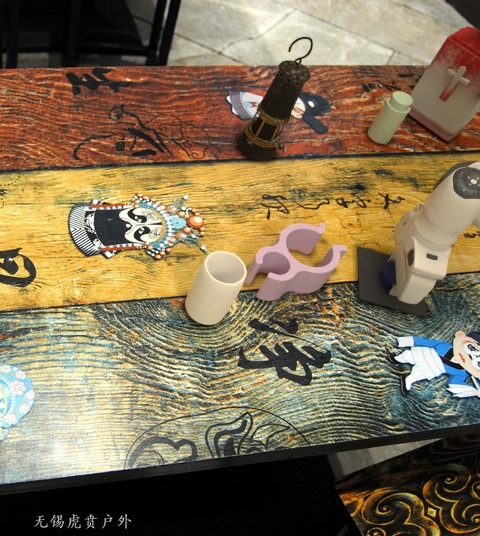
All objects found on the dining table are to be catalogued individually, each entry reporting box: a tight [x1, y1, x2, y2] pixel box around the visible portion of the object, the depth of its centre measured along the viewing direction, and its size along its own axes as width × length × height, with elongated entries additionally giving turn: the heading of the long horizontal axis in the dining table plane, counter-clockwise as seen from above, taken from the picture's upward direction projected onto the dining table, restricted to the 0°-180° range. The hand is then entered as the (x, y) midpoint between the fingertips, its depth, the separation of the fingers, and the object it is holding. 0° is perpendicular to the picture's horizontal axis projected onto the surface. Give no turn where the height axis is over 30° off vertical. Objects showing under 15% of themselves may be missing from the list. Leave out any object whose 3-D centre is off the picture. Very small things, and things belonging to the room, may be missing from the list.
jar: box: [367, 90, 413, 145], centre depth 176 cm, size 6×6×12 cm
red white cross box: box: [407, 26, 480, 142], centre depth 175 cm, size 14×10×30 cm
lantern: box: [237, 36, 314, 162], centre depth 160 cm, size 9×9×30 cm
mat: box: [357, 246, 427, 318], centre depth 153 cm, size 14×14×1 cm
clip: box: [243, 222, 348, 302], centre depth 148 cm, size 20×12×7 cm, turn 122°
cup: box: [184, 250, 248, 326], centre depth 136 cm, size 8×8×14 cm
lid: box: [379, 262, 397, 289], centre depth 152 cm, size 6×6×2 cm
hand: (391, 278), depth 152 cm, fingers closed on lid, 6 cm apart
